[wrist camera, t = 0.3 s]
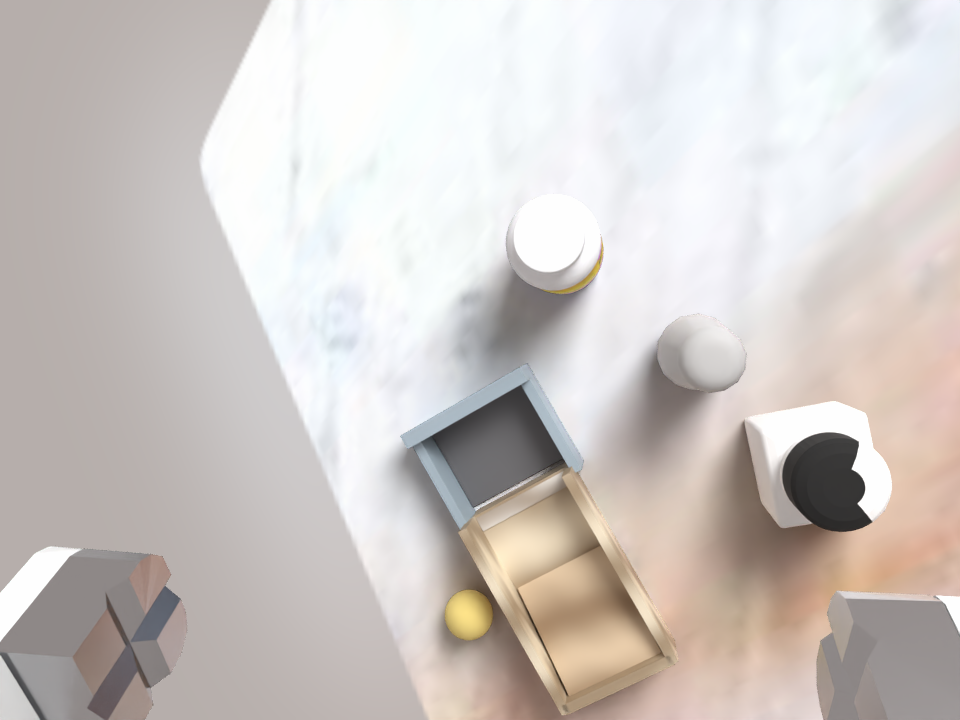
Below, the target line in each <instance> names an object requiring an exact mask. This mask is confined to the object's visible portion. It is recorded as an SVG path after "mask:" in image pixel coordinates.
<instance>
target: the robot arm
mask: <svg viewBox="0 0 960 720" xmlns="http://www.w3.org/2000/svg"><path fill="white" fill-rule="evenodd" d="M170 576H171V574H170V571H169V569H168V567H167V565H166V563H165V561H164V558H163V557H162V556H158V555H153V554H142V553H131V552H119V551H107V550H94V549H76V548H64V547H50V546H49V547H47V548H45V549H43V550H41V551H39V552H37V553H35V554H34V555H33V556H32V557H31V559H30V560H29V561H28V562H27V563H26V564H25V565H24V567H23V568H22V569H21V570H20V571H19V572H18V573H17V575H16V576H15V577H14V578H13V579H12V580H11V581H10V582H9V584H8V585H7V586H6V587H5V588H4V590H3V591H2V592H1V593H0V720H145V719H146V717H147V715H148V713H149V711H150V710H151V708H152V706H153V700H152V692H151V687H152V686H154V685H155V684H157V683H158V682H160V681H161V680H162V679H163V678H165V677H166V676H168V675H169V674H170V673H171V672H172V670H173V668H174V666H175V665H176V663H177V661H178V659H179V657H180V655H181V653H182V650H183V646H184V641H185V637H186V633H187V620H186V612H185V609H184V606H183V603H182V601H181V599H180V598H179V597H178V596H177V595H175V594H174V593H173V592H172V591H171V590H169V589H168V588H167V587H166V586H165V585H166V583H167V582H168V580H169V578H170ZM827 616H828V619H829V622H830V625H831V629H832V633H831V634H829V635H828V636H826V637H825V638H824V639H822V640H821V641H820V646H819V651H818V656H817V690H818V696H819V703H820V707H821V711H822V715H823V719H824V720H960V597H952V596H933V597H932V596H930V595H919V594H896V593H873V592H851V591H836V593H835V594H834V595H833V596H832V598H831V601H830V604H829V608H828V612H827Z"/></svg>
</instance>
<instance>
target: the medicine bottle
mask: <svg viewBox="0 0 960 720" xmlns="http://www.w3.org/2000/svg"><path fill="white" fill-rule="evenodd" d="M744 423H745V428H746V433H747V438H748V442H749V447H750V452H751V457H752V462H753V466H754V471H755V476H756V481H757V486H758V490H759V495H760V500H761V503H762V504H763V506H764V507H765V508H766V510H767V511H768V512H769V513H770V515H771V516H772V517H773V519H774V520H775V521H776V523H777V524H778V525H779V526H780V527H781V528H788V527H794V526H801V525H807V524H815V525H817V526H819V527H821V528H824V529H826V530H831V531H838V532H847V531H853V530H857V529H860V528H863V527H865V526H867V525H869V524H870V523H872V522H873V521H874V520H876V519H877V518H878V517H879V516H880V515H881V514H882V512H884V511H885V508H886V506H887V504H888V502H889V499H890V496H891V490H892V481H891V475H890V472H889V469H888V467H887V465H886V463H885V461H884V460H883V459H882V457H881V456H880V455H879V454H878V453H877V452H876V451H875V450H874V449H873V444H872V439H871V434H870V429H869V424H868V419H867V415H866V414H865V413H864V412H862V411H859V410H857V409H854V408H852V407H849V406H847V405H844V404H842V403H839V402H837V401H831V402H826V403H820V404H815V405H809V406H804V407H799V408H793V409H788V410H782V411H777V412H771V413H766V414H761V415H755V416H750V417H747V418H745V420H744Z"/></svg>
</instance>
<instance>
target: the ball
mask: <svg viewBox="0 0 960 720" xmlns="http://www.w3.org/2000/svg"><path fill="white" fill-rule="evenodd" d="M492 619H493V610H492V606H491V604H490V602H489V600H488V599H487V598H486V596H484V595H483V594H482V593H480V592H478V591H476V590H462V591H460V592H458V593H456V594H455V595H453V596H452V597H451V599H450V600H449V601H448V603H447V606H446V609H445V621H446V624H447V627H448V629H449V630H450V631H451V633H452V634H453V635H455V636H456V637H458V638H460V639H463V640H475V639H478V638H480V637H481V636H483V635H484V634H485V633H486V632H487V631H488V629H489V628H490V626H491V623H492Z"/></svg>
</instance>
